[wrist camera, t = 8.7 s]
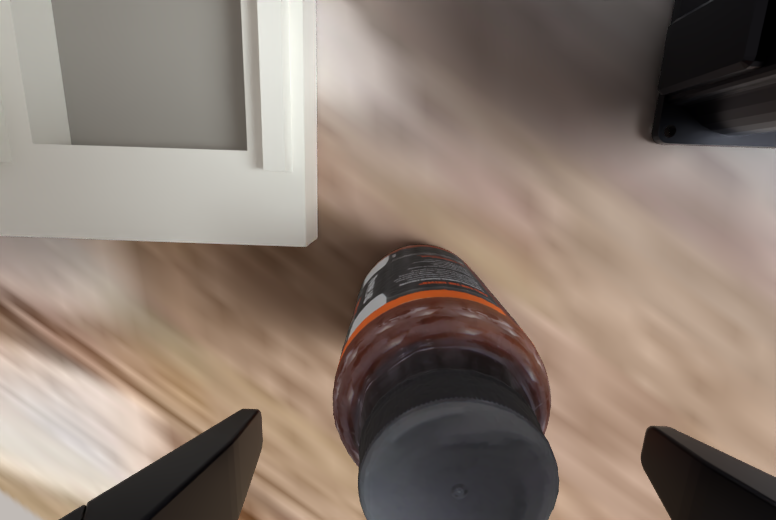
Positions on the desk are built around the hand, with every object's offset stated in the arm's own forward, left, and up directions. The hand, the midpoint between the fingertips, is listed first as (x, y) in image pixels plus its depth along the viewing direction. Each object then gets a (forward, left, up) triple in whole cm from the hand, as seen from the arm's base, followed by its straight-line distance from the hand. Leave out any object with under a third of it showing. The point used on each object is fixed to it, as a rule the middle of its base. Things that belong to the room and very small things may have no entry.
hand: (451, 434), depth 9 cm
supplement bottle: (0, 0, -10) cm, 10 cm away
